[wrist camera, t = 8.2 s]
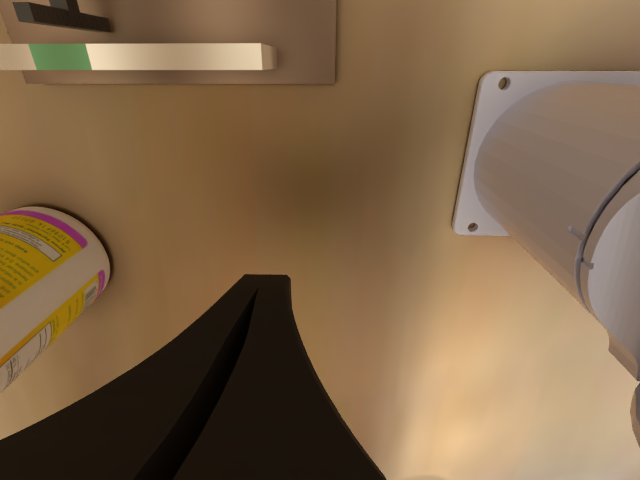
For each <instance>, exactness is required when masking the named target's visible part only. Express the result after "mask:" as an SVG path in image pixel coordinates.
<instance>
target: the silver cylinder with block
mask: <svg viewBox="0 0 640 480" xmlns="http://www.w3.org/2000/svg"><path fill="white" fill-rule="evenodd" d="M49 2H50V6H46V5H41V4H36V3H31V2H12V3H13V6H14V9H15V12H16V15H17V18H18V21H19V22H25V23H33V24H40V25H48V26H55V27H63V28H70V29H78V30H85V31H93V32H111V29H110V24H109V20H108V18H105V17H100V16H95V15H90V14H85V13H80V10H79V6H78V2H77V0H49Z"/></svg>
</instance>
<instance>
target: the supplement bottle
mask: <svg viewBox="0 0 640 480" xmlns="http://www.w3.org/2000/svg"><path fill="white" fill-rule="evenodd" d="M109 276H110V263H109V259H108V256H107V253H106V251H105V249H104V247H103V246H102V244H101V242H100V241H99V240H98V238H97V237H96V236H95V235H94V233H93V232H92V231H91V230H90V229H88V228H87V227H86V226H85V225H84V224H82V223H81V222H80V221H78V220H76V219H75V218H73V217H71V216H69V215H67V214H65V213H63V212H60V211H57V210H54V209H50V208H45V207H35V206H32V207H22V208H18V209H14V210H11V211H9V212H6V213H4V214H2V215H0V394H1V393H2V392H3V391H4V390H5V389H6V388H7V387H8V386H9V385H10V384H11V383H12V382H13V381H14V380H15V379H16V378H17V377H18V376H19V375H20V374H21V373H22V372H23V371H24V370H25V369H26V368H27V367H28V366H29V365H30V364H31V363H32V362H33V361H34V360H35V359H36V358H37V357H38V356H39V355H40V354H41V353H42V352H43V351H44V350H45V349H46V348H47V347H48V346H49V345H50V344H51V343H52V342H53V341H54V340H55V339H56V338H57V337H58V336H59V335H60V334H62V332H63V331H64V330H65V329H66V328H67V327H68V326H69V325H70V324H71V323H72V322H73V321H74V320H75V319H76V318H77V317H78V316H80V314H81V313H82V312H83V311H84V310H85V309H86V308H87V307H89V305H90V304H91V303H93V302H94V301H95V299H96V298H97V297H98V296H99V295H100V294H101V293H102V292H103V290H104V289H105V287H106V285H107V283H108V280H109Z"/></svg>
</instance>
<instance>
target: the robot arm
mask: <svg viewBox="0 0 640 480" xmlns="http://www.w3.org/2000/svg"><path fill="white" fill-rule="evenodd" d="M504 77H505V78H506V80H507V84H506V86H505V87H504V88H503V89H500V88H499V86H498V84H499V81H500V80H501V79H502V78H504ZM471 223H475V226H474V227H473V228H471V229H468V226H469V225H470V224H471ZM452 228H453V230H454V232H455V233H456V234H458V235H480V236H512V237H513V238H514V239H515V240H516V241H517V242H518V243H519V244H520V245H521V246H522V247H523V248H524V249H525V250H526V251H527V252H528V253H529V254H530V255H531V256H532V257H533V258H534V259H535V260H536V261H537V262H538V263H539V264H540V265H541V266H543V267H544V268H545V269H546V270H547V271H548V272H549V273H550V274H551V275H552V276H553V277H554V278H555V279H556V280H557V281H558V282H559V283H560V284H561V285H562V286H563V287H564V288H565V289H566V290H567V291H568V292H569V293H570V294H571V295H572V296H573V297H574V298H575V299H576V300H577V301H578V302H579V303H580V304H581V305H582V306H583V307H585V308H586V309H587V310H588V311H589V312H590V313H591V314H592V315H593V316H594V317H595V318H596V319H597V320H598V321H599V323H600V324H601V325H602V326H603V327H604V328H605V329H606V331H607V333H608V335H609V341H610V342H609V352H610V353H611V354H612V355H613V356H614V357H615V358H616V359H617V360H618V361H619V362H620V363H621V364H622V365H623V366H624V367H625V368H626V369H627V370H628V371H629V373H630V374H631V375H632V376H633V377H634V378H635V379H636V380H637V381H640V71H490V72H487V73H486V74H484V75H483V76H482V77H481V79H480V81H479V85H478V90H477V95H476V100H475V106H474V111H473V116H472V121H471V127H470V132H469V137H468V143H467V148H466V153H465V158H464V164H463V169H462V174H461V179H460V185H459V190H458V195H457V201H456V206H455V211H454V216H453V222H452ZM630 414H631V421H632V428H633V431H634V434H635V437H636V440H637V442H638V445H639V447H640V383H639V385H638V386H637V387H636V389H635V391H634V394H633V397H632V402H631V409H630ZM0 480H386V478H385V476H384V475H383V473H382V472H381V471H380V470H379V468H378V467H377V466H376V464H375V463H374V462H373V461H372V459H371V458H370V457H369V455H368V454H367V453H366V451H365V450H364V449H363V447H362V446H361V445H360V443H359V442H358V440H357V439H356V438H355V436H354V435H353V433H352V432H351V430H350V429H349V427H348V426H347V424H346V423H345V421H344V420H343V419H342V417H341V415H340V414H339V412H338V410H337V409H336V407H335V405H334V404H333V402H332V400H331V399H330V397H329V395H328V394H327V392H326V390H325V389H324V387H323V385H322V383H321V381H320V379H319V378H318V376H317V374H316V372H315V370H314V368H313V366H312V363H311V361H310V359H309V357H308V355H307V352H306V350H305V348H304V345H303V343H302V340H301V337H300V334H299V332H298V329H297V325H296V322H295V319H294V315H293V311H292V301H291V279H290V278H289V277H288V276H287V275H254V274H245V275H244V276H243V277H242V278H241V279H240V280H239V281H237V282H236V283H235V284H234V285H233V286H232V287H231V288H230V289H229V290H228V291H227V292H226V293H225V294H224V295H223V296H222V297H221V298H220V299H219V300H218V301H217V302H216V303H215V304H214V305H213V306H212V307H210V308H209V309H208V310H207V311H206V312H205V313H204V314H203V315H202V316H201V317H200V318H198V319H197V320H196V321H195V322H194V323H192V324H191V325H190V326H189V327H188V328H187V329H185V330H184V331H183V332H182V333H181V334H179V335H178V336H177V337H176V338H174V339H173V340H172V341H171V342H169V343H168V344H167V345H165V346H164V347H163V348H161V349H160V350H158V351H157V352H156V353H154V354H153V355H151V356H150V357H148V358H147V359H146V360H144V361H143V362H141V363H140V364H138V365H137V366H135V367H134V368H132V369H131V370H129V371H127V372H126V373H124V374H122V375H121V376H119V377H117V378H116V379H114V380H113V381H111V382H109V383H108V384H106V385H104V386H103V387H101V388H100V389H98V390H96V391H95V392H93V393H91V394H89V395H88V396H86V397H84V398H82V399H80V400H79V401H77V402H75V403H73V404H71V405H70V406H68V407H66V408H64V409H62V410H60V411H58V412H56V413H54V414H53V415H51V416H49V417H47V418H45V419H43V420H41V421H39V422H37V423H35V424H33V425H31V426H29V427H27V428H25V429H23V430H21V431H19V432H17V433H15V434H12V435H10V436H8V437H6V438H4V439H2V440H0Z"/></svg>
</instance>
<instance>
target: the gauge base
mask: <svg viewBox="0 0 640 480" xmlns="http://www.w3.org/2000/svg"><path fill="white" fill-rule="evenodd" d="M12 2H31V3H36V4H41V5H46V6H50V2H49V0H0V11H1V14H2V16H3V19H4V22H5V25H6V28H7V31H8V33H9V36H10V39H11V42H12V44H0V70H22V73H23V76H24V79H25V82H26V84H335V52H336V0H77V2H78V6H79V10H80V13H85V14H90V15H95V16H100V17H105V18H108V20H109V24H110V29H111V32H93V31H85V30H78V29H70V28H63V27H55V26H48V25H40V24H33V23H25V22H19V21H18V18H17V15H16V12H15V9H14V6H13V3H12Z"/></svg>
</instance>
